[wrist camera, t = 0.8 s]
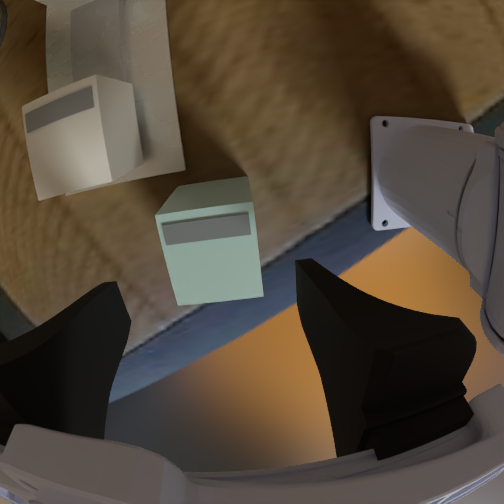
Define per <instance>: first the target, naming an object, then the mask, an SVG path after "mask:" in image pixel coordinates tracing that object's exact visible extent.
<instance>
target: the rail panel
mask: <svg viewBox="0 0 504 504" xmlns="http://www.w3.org/2000/svg"><path fill="white" fill-rule="evenodd" d="M46 68H47V84H48V94H49V93H51V92H53V91H55V90H58V89H60V88H62V87H65V86H67V85H69V84H72V83H74V82H77V81H79V80H82V79H85V78H87V77H90V76H93V75H100V76H104V77H108V78H112V79H116V80H120V81H123V82H127V83H131V84H132V86H133V95H134V102H135V110H136V117H137V124H138V130H139V137H140V143H141V149H142V155H143V160H144V164H143V165H141V166H139V167H137V168H135V169H133V170H132V171H130V172H128V173H126V174H125V175H123V176H121V177H119V178H118V179H116V180H114V181H113V182H108V183H104V184H100V185H96V186H92V187H88V188H84V189H80V190H76V191H72V192H68V193H65V194H66V196H67V195H71V194H75V193H79V192H83V191H87V190H91V189H95V188H99V187H104V186H108V185H112V184H117V183H122V182H126V181H131V180H136V179H141V178H146V177H151V176H156V175H162V174H167V173H173V172H179V171H185V170H187V168H186V162H185V156H184V149H183V143H182V136H181V129H180V122H179V115H178V107H177V100H176V92H175V84H174V75H173V67H172V58H171V48H170V38H169V27H168V16H167V3H166V0H95V1H92V2H90V3H87V4H85V5H82V6H80V7H78V8H76V9H73V10H71V11H69V12H67V13H65V14H64V13H62V12H60V11H58V10H56V9H53V8H51V7H49V6H47V12H46Z"/></svg>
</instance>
